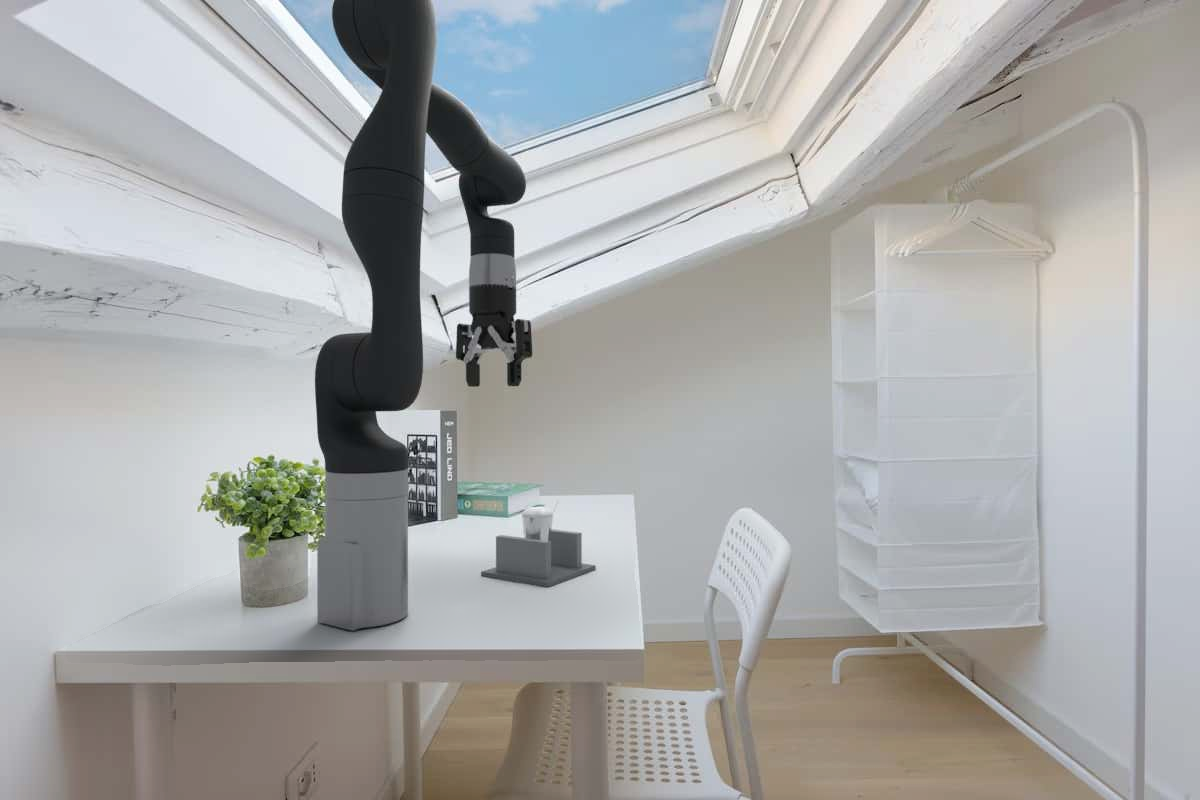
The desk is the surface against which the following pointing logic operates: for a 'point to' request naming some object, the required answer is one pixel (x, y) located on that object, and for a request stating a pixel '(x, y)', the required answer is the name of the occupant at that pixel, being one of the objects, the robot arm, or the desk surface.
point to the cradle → (539, 559)
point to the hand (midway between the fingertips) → (493, 386)
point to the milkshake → (537, 523)
